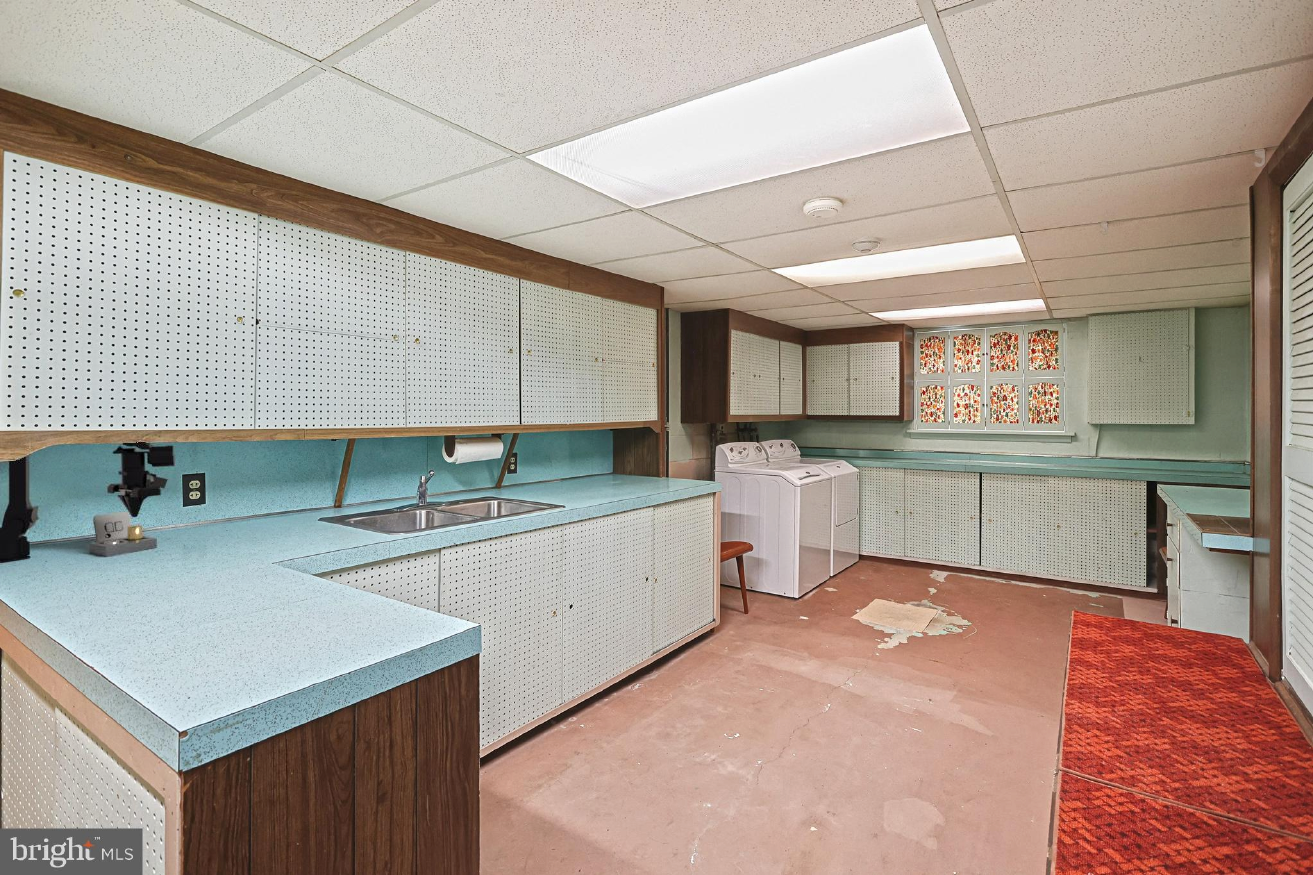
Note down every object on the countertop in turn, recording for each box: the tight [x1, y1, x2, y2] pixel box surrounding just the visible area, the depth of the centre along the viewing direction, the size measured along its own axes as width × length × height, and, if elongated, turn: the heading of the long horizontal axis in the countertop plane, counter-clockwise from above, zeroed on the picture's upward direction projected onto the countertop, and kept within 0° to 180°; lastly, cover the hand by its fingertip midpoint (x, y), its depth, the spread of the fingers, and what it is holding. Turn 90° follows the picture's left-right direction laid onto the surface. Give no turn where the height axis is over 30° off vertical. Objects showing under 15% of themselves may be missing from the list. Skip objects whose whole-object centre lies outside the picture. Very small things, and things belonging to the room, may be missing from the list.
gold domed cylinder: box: [127, 524, 143, 541], centre depth 194 cm, size 4×4×7 cm
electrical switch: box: [92, 511, 132, 542], centre depth 205 cm, size 9×5×9 cm, turn 152°
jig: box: [88, 535, 158, 558], centre depth 192 cm, size 13×10×3 cm
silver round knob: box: [104, 540, 120, 545], centre depth 189 cm, size 4×4×4 cm
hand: (134, 517), depth 194 cm, fingers closed
